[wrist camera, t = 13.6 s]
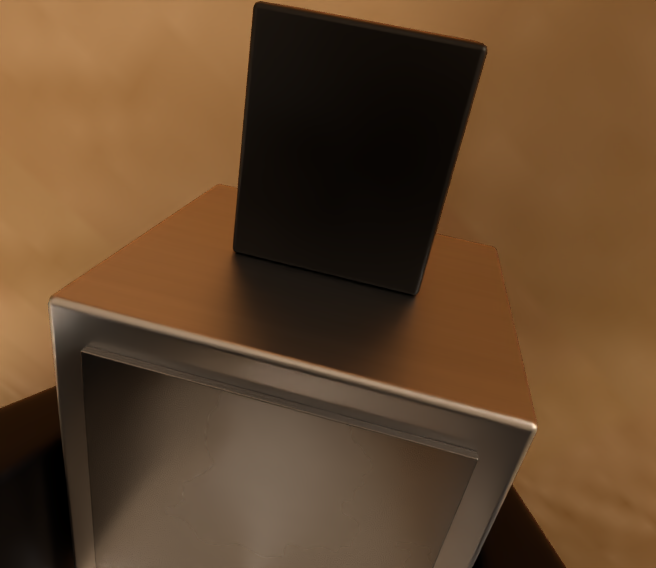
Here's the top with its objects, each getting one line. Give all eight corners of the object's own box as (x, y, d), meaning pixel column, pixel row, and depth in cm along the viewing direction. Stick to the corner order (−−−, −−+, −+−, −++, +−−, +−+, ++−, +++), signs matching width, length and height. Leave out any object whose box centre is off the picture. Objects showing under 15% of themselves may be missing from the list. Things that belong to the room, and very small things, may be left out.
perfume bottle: (404, 515, 10) (381, 770, 7) (199, 456, 11) (77, 666, 7) (564, 56, 6) (714, 89, 3) (230, -6, 7) (-4, -47, 3)
